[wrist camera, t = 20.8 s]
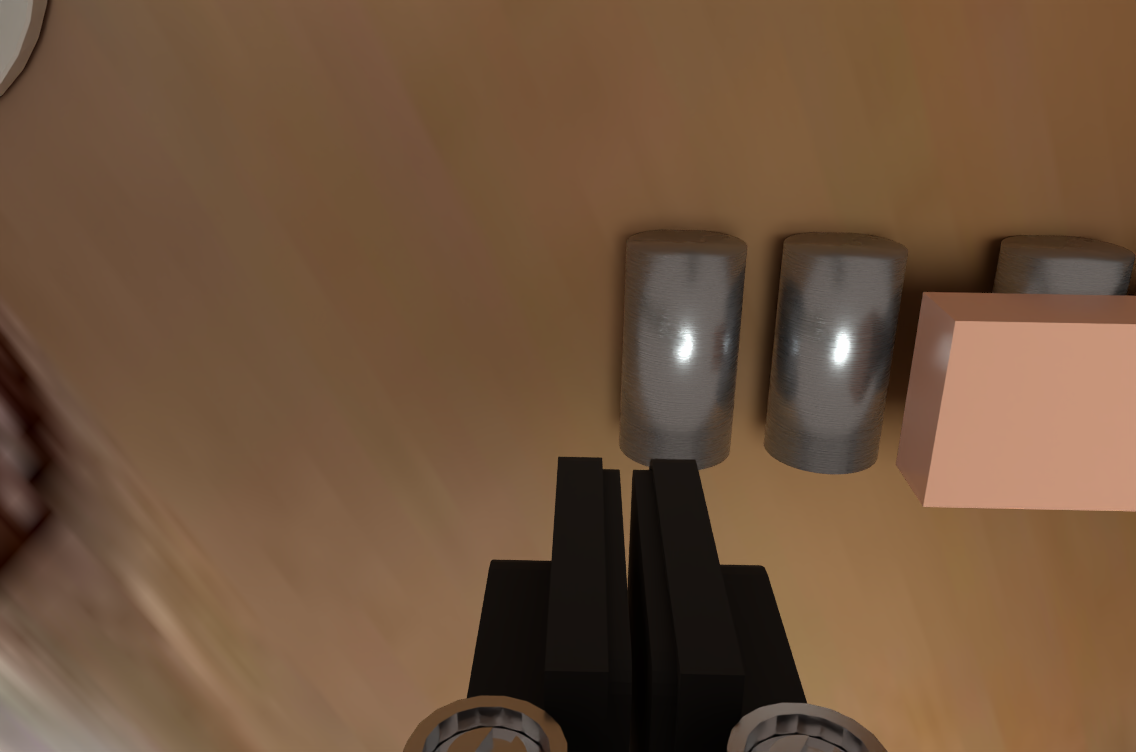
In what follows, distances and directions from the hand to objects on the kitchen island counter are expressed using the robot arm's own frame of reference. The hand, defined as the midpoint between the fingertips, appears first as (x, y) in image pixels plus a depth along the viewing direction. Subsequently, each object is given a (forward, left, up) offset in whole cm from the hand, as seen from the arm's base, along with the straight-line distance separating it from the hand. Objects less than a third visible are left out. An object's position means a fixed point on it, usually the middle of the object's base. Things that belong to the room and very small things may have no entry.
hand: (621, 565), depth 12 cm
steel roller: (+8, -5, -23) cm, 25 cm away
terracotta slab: (+15, -5, -19) cm, 24 cm away
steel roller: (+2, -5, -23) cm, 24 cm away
